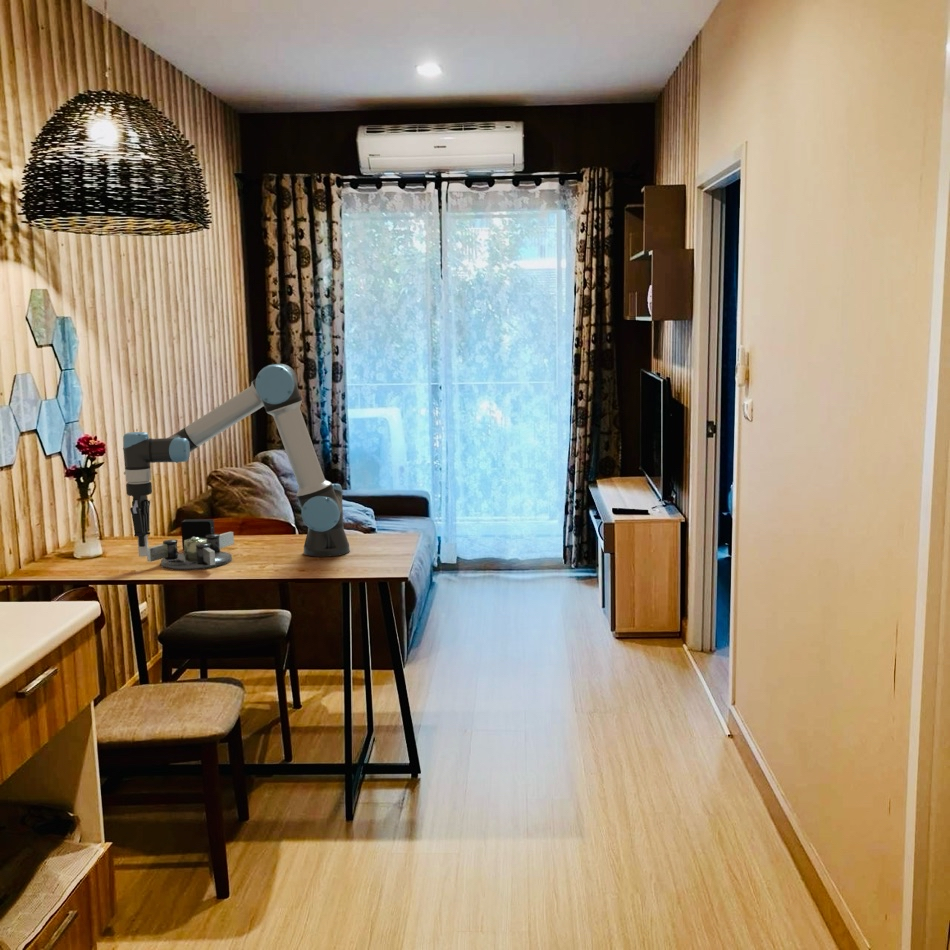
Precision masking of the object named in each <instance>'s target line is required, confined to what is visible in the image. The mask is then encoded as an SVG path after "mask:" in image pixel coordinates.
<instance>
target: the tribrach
mask: <svg viewBox="0 0 950 950" xmlns="http://www.w3.org/2000/svg"><path fill="white" fill-rule="evenodd" d="M199 543H207V539H206V538H199V537H192V538H191V539H186V540H184V548H185V550H184V552H178V558H177V559H172V560H166V559H165V558H163V559H160V566H161V567H162V568H163V569H166V570H170V569H173V570H172V571H198V570H207V569H213V568H217V567H218V568H219V567H222V566H224V565H227V564H229V563H231V562H232V560H233V559H232V554H231V553H230V552H227V551H222V550H220V552H219V553H215V565H209V564H208V563H205V564H199V563H197V547H196V544H199Z"/></svg>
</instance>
